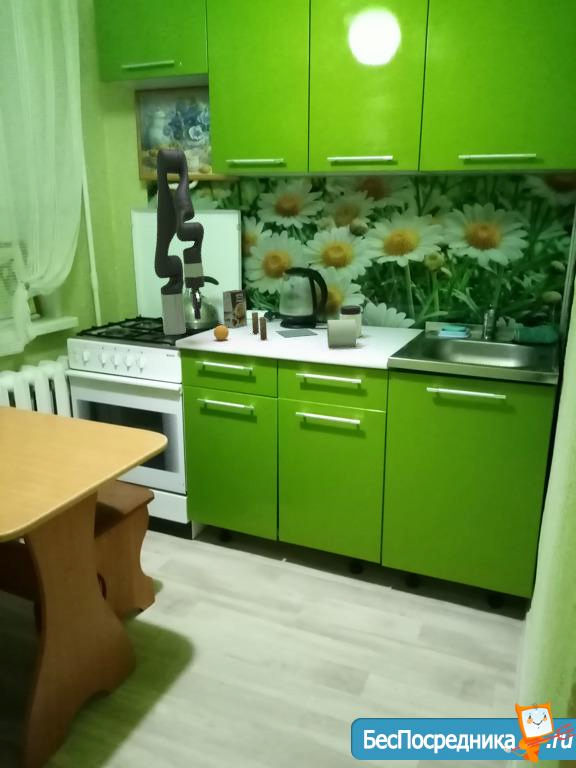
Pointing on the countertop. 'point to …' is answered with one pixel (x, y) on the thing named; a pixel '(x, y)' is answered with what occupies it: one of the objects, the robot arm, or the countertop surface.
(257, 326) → the post
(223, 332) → the ball
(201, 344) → the countertop surface
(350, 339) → the toilet paper
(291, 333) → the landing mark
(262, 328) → the post
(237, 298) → the coffee box
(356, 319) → the jar
